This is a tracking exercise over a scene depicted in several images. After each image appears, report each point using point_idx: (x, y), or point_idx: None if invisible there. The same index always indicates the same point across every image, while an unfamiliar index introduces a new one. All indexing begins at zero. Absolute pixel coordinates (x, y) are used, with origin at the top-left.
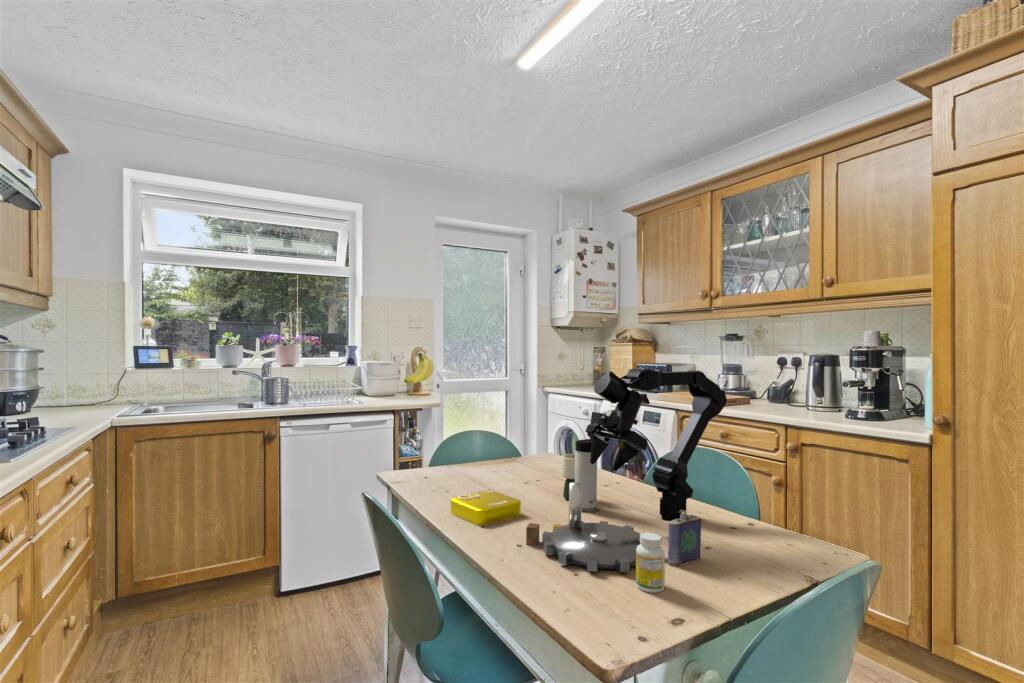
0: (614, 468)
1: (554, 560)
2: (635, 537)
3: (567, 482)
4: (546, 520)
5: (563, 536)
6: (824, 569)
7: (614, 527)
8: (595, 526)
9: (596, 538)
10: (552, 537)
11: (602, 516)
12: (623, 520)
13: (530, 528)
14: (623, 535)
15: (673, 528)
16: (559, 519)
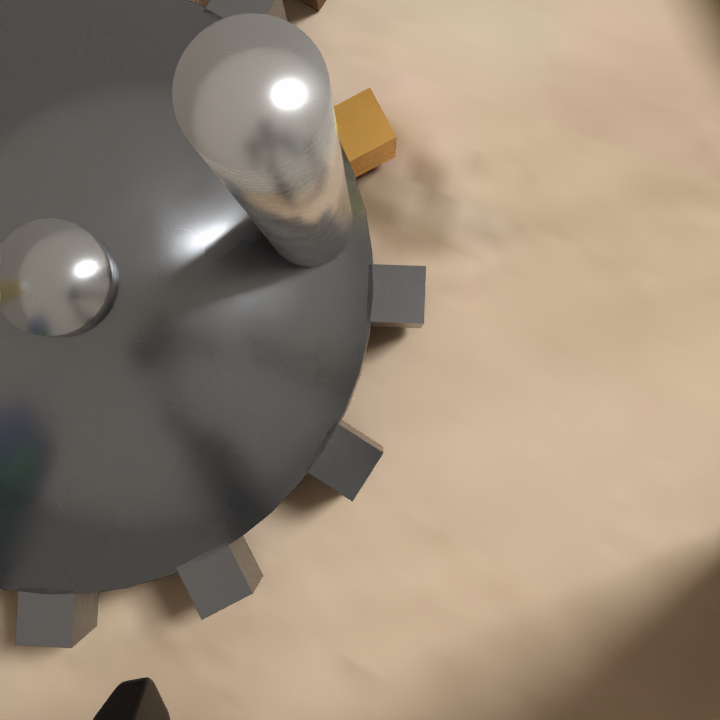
0: (111, 714)
1: None
2: (25, 526)
3: None
4: (668, 183)
5: (163, 81)
6: None
7: (230, 485)
8: (281, 365)
9: (9, 240)
10: (163, 6)
11: (657, 603)
12: (541, 707)
13: None
14: (78, 468)
15: None
16: (667, 277)
